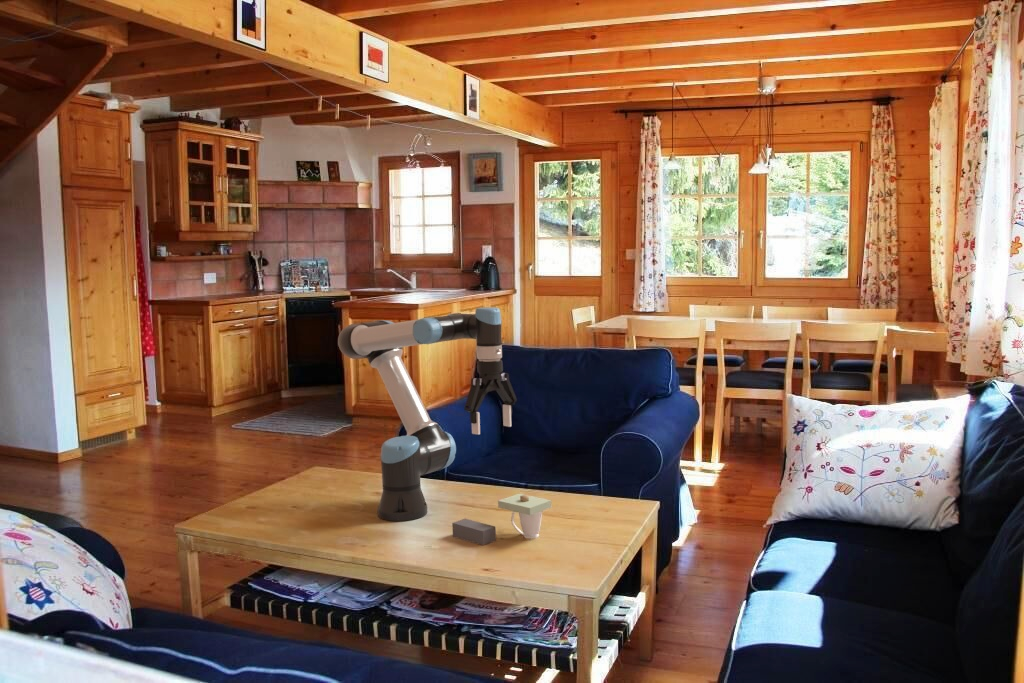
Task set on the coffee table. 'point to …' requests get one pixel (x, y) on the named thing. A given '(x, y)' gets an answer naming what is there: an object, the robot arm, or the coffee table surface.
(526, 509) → the lid
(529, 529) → the cup
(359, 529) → the coffee table surface
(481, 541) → the block
